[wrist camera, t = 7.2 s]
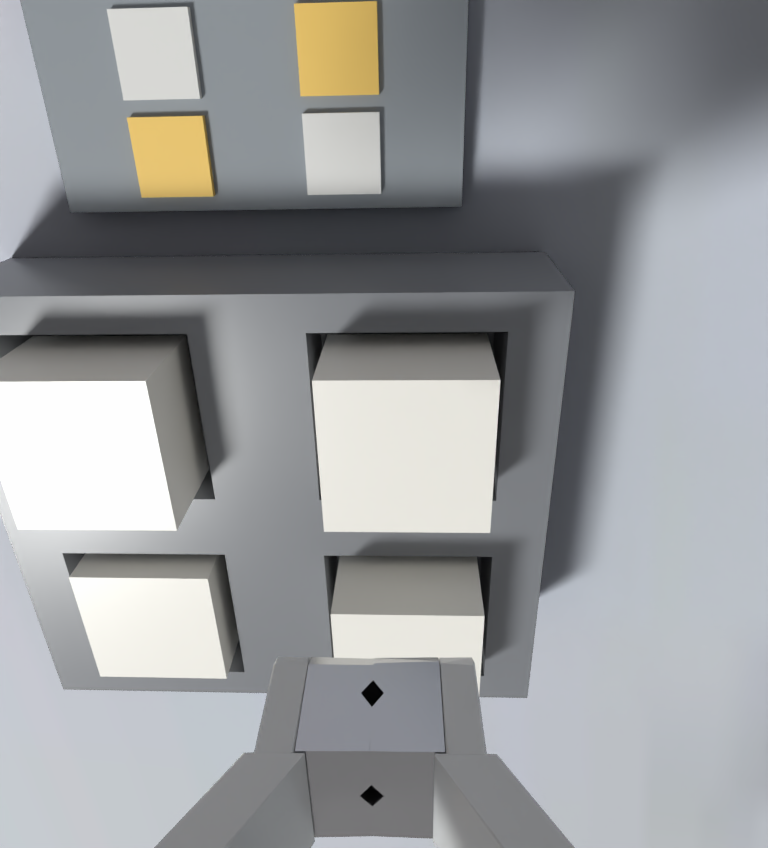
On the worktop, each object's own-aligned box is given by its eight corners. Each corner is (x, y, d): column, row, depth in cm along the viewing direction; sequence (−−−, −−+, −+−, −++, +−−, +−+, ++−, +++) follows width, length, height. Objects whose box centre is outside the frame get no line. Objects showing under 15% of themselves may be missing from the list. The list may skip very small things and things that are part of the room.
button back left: (232, 518, 22) (207, 578, 19) (247, 612, 24) (226, 678, 21) (110, 517, 22) (68, 577, 20) (134, 610, 24) (100, 676, 21)
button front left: (186, 335, 17) (145, 381, 15) (209, 468, 19) (176, 530, 17) (32, 336, 18) (-34, 381, 15) (70, 468, 20) (18, 529, 17)
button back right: (475, 546, 20) (484, 615, 18) (469, 644, 22) (477, 720, 20) (341, 545, 21) (330, 613, 18) (347, 642, 23) (338, 717, 20)
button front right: (487, 333, 17) (500, 380, 14) (479, 469, 19) (490, 532, 16) (327, 334, 17) (311, 380, 15) (336, 469, 19) (323, 531, 17)
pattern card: (467, -18, 16) (469, -22, 15) (460, 202, 18) (462, 207, 18) (31, -5, 17) (14, -8, 16) (80, 208, 19) (66, 214, 18)
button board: (545, 251, 19) (575, 291, 16) (511, 612, 26) (527, 697, 22) (10, 258, 20) (-78, 297, 16) (110, 607, 26) (63, 689, 23)
